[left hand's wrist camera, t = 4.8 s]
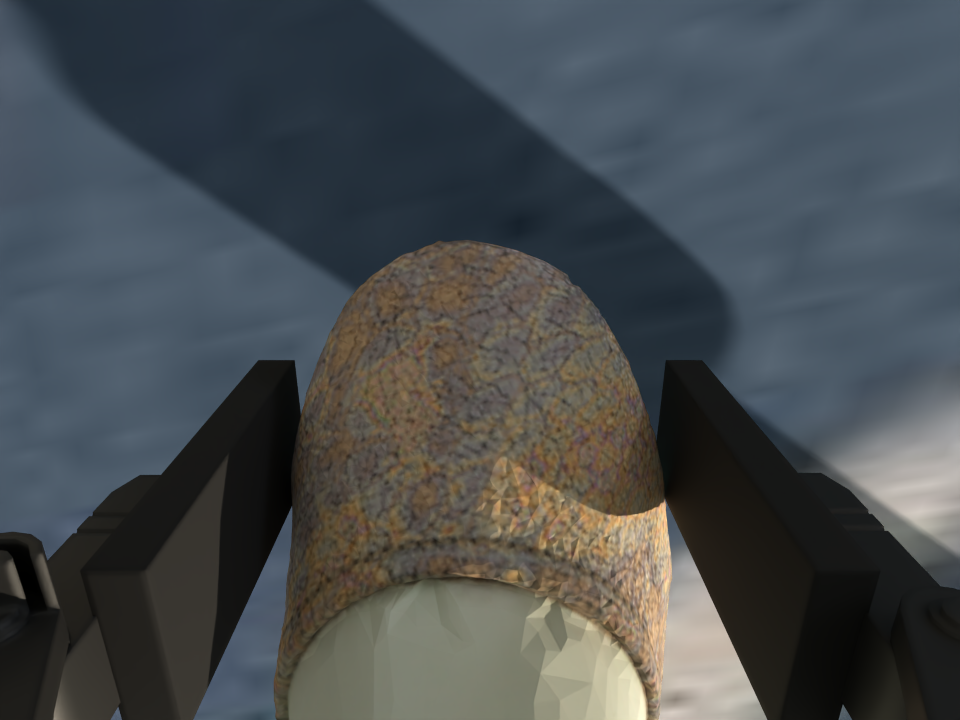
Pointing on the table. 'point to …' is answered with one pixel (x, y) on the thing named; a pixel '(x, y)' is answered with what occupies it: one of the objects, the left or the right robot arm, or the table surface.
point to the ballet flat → (474, 505)
